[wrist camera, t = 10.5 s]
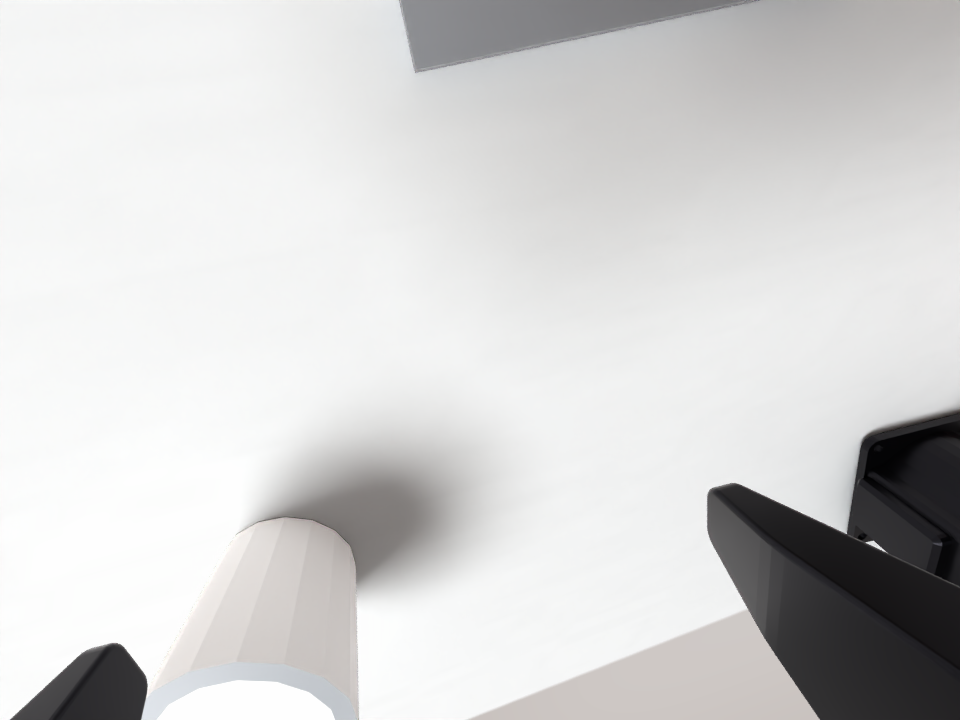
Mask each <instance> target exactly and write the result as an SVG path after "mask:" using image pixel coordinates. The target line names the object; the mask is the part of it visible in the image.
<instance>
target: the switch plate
mask: <svg viewBox="0 0 960 720" xmlns="http://www.w3.org/2000/svg"><path fill="white" fill-rule="evenodd" d="M399 1H400V6H401V10H402V15H403V20H404V24H405V29H406V33H407V38H408V43H409V47H410V52H411V56H412V61H413V66H414V70H415V73H417V72H422V71H426V70H431V69H436V68H441V67H445V66H450V65H455V64H460V63H464V62H469V61H474V60H479V59H483V58H488V57H493V56H498V55H502V54H507V53H512V52H517V51H521V50H526V49H531V48H536V47H540V46H545V45H550V44H555V43H559V42H564V41H569V40H574V39H578V38H583V37H588V36H593V35H597V34H602V33H607V32H612V31H616V30H621V29H626V28H631V27H635V26H640V25H645V24H650V23H654V22H659V21H664V20H669V19H673V18H678V17H683V16H688V15H692V14H697V13H702V12H707V11H711V10H716V9H721V8H725V7H730V6H735V5H740V4H744V3H749V2H754V1H759V0H399Z"/></svg>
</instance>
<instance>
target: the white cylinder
mask: <svg viewBox="0 0 960 720" xmlns="http://www.w3.org/2000/svg"><path fill="white" fill-rule="evenodd" d="M141 720H359V702H358V653H357V603H356V564H355V560H354V557H353V554H352V550H351V547H350V545H349V544H348V543H347V542H346V541H345V540H344V539H343V538H342V537H341V536H340V535H339V534H338V533H337V532H336V531H335V530H333V529H331V528H329V527H326V526H324V525H322V524H320V523H317V522H315V521H313V520H307V519H298V518H289V517H282V518H277V519H272V520H267V521H261V522H257V523H256V524H254V525H252V526H250V527H249V528H247V529H245V530H243V531H242V532H240V533H238V534H236V536H235V537H234V538H233V540H232V541H231V543H230V544H229V545H228V547H227V548H226V549H225V551H224V552H223V554H222V556H221V557H220V559H219V561H218V563H217V565H216V566H215V568H214V570H213V572H212V574H211V575H210V577H209V579H208V581H207V583H206V584H205V586H204V588H203V590H202V592H201V593H200V595H199V597H198V599H197V601H196V602H195V604H194V606H193V608H192V610H191V612H190V613H189V615H188V617H187V619H186V621H185V622H184V624H183V626H182V628H181V630H180V631H179V633H178V635H177V637H176V639H175V640H174V642H173V644H172V646H171V648H170V649H169V651H168V653H167V655H166V657H165V658H164V660H163V662H162V664H161V666H160V667H159V669H158V671H157V673H156V675H155V676H154V678H153V680H152V682H151V684H150V685H149V687H148V689H147V697H146V701H145V706H144V710H143V715H142V719H141Z"/></svg>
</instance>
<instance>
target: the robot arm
mask: <svg viewBox="0 0 960 720" xmlns="http://www.w3.org/2000/svg"><path fill="white" fill-rule="evenodd" d="M707 529H708V534H709V537H710V540H711V542H712V544H713V546H714V548H715V550H716V552H717V554H718V555H719V557H720V559H721V561H722V563H723V564H724V566H725V568H726V570H727V572H728V574H729V575H730V577H731V579H732V581H733V583H734V584H735V586H736V588H737V590H738V592H739V593H740V595H741V597H742V599H743V601H744V603H745V604H746V606H747V608H748V610H749V612H750V613H751V615H752V617H753V619H754V621H755V622H756V624H757V626H758V627H759V629H760V631H761V633H762V635H763V636H764V638H765V639H766V641H767V643H768V644H769V646H770V647H771V649H772V650H773V651H774V653H775V655H776V656H777V657H778V659H779V661H780V662H781V663H782V665H783V666H784V668H785V669H786V671H787V672H788V674H789V675H790V677H791V678H792V679H793V681H794V682H795V684H796V685H797V687H798V688H799V690H800V691H801V693H802V694H803V695H804V697H805V699H806V700H807V701H808V703H809V704H810V706H811V707H812V709H813V710H814V712H815V713H816V714H817V716H818V717H819V719H820V720H960V414H956V415H952V416H948V417H944V418H940V419H936V420H932V421H929V422H925V423H921V424H917V425H913V426H909V427H905V428H901V429H897V430H893V431H889V432H886V433H882V434H878V435H874V436H871V437H869V438H867V439H866V440H865V441H864V442H863V443H862V446H861V450H860V456H859V462H858V469H857V475H856V481H855V487H854V493H853V500H852V506H851V512H850V518H849V524H848V531H847V534H845V533H843V532H841V531H839V530H837V529H834V528H832V527H830V526H828V525H826V524H824V523H822V522H819V521H817V520H815V519H813V518H811V517H809V516H807V515H804V514H802V513H800V512H798V511H796V510H794V509H791V508H789V507H787V506H785V505H783V504H781V503H779V502H776V501H774V500H772V499H770V498H768V497H766V496H764V495H761V494H759V493H757V492H755V491H753V490H751V489H749V488H746V487H744V486H742V485H740V484H736V483H730V484H726V485H722V486H718V487H714V488H712V489H710V490H709V492H708V496H707ZM873 540H874V541H875V542H876V543H877V544H878V545H879V546H880V547H882V548H883V549H884V550H885V551H886V552H887V553H886V552H884V551H882V550H880V549H877V548H875V547H873V546H871V545H869V544H867V543H865V542H869V541H873ZM147 687H148V685H147V679H146V676H145V674H144V673H143V671H142V670H141V669H140V667H139V666H138V665H137V663H136V662H135V661H134V660H133V658H132V657H131V656H130V654H129V653H128V652H127V650H126V649H125V648H124V647H123V646H122V645H121V644H118V643H110V644H107V645H103V646H99V647H95V648H91V649H89V650H86V651H85V652H83V653H82V654H81V655H79V656H78V657H77V658H76V659H75V660H74V661H73V662H72V663H71V664H70V665H69V666H67V667H66V668H65V669H64V670H63V671H62V672H61V673H60V674H59V675H58V676H57V677H56V678H55V679H53V680H52V681H51V682H50V683H49V684H48V685H47V686H46V687H45V688H44V689H43V690H42V691H41V692H39V693H38V694H37V695H36V696H35V697H34V698H33V699H32V700H31V701H30V702H29V703H28V704H27V705H25V706H24V707H23V708H22V709H21V710H20V711H19V712H18V713H17V714H16V715H15V716H14V717H13V718H11V719H10V720H141V719H142V715H143V710H144V706H145V701H146V697H147Z"/></svg>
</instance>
